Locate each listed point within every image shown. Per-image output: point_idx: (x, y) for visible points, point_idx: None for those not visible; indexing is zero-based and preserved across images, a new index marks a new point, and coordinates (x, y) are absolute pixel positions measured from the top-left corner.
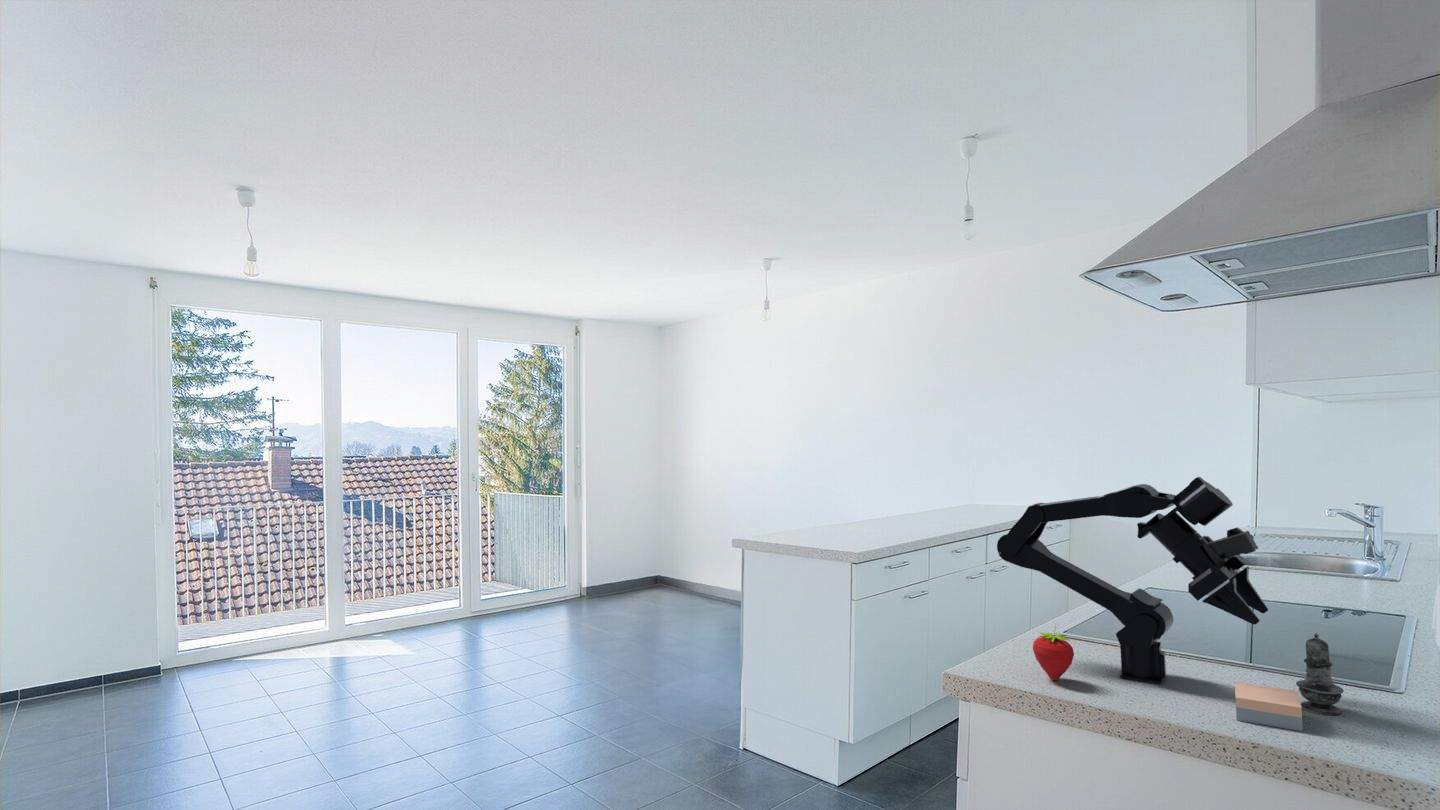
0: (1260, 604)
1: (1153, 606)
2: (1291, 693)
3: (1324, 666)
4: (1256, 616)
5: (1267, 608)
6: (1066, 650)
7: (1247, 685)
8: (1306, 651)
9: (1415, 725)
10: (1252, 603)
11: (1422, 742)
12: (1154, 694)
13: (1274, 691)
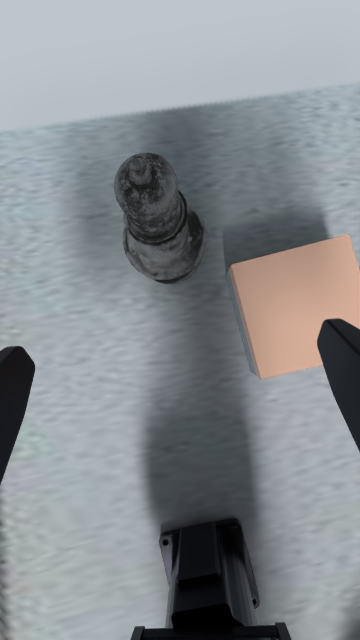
0: (1, 385)
1: None
2: (260, 269)
3: (182, 194)
4: (350, 331)
5: (10, 349)
6: None
7: (268, 352)
8: (159, 225)
9: (148, 127)
10: (2, 427)
11: (232, 107)
12: (310, 508)
13: (272, 298)
